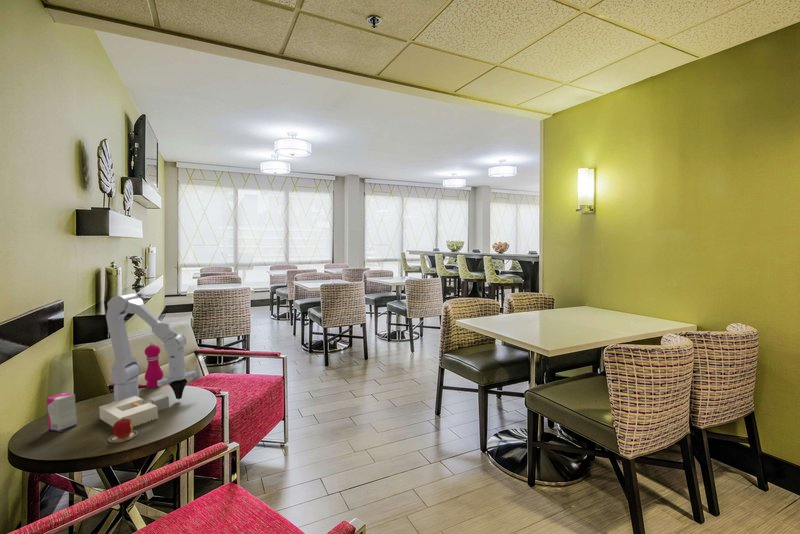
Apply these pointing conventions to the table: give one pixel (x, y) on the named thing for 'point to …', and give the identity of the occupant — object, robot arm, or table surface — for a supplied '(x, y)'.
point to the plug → (160, 402)
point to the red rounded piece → (123, 431)
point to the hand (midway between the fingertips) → (178, 398)
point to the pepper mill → (153, 366)
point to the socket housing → (128, 411)
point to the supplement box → (61, 412)
